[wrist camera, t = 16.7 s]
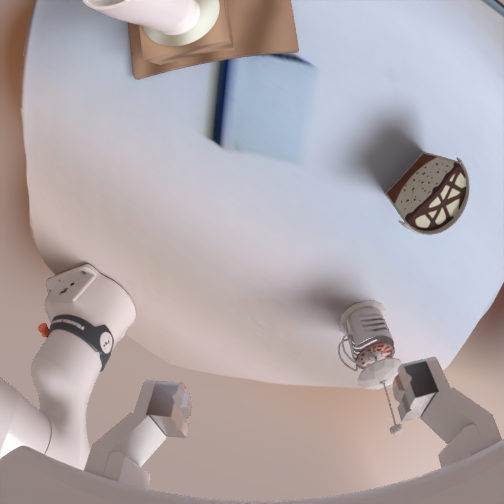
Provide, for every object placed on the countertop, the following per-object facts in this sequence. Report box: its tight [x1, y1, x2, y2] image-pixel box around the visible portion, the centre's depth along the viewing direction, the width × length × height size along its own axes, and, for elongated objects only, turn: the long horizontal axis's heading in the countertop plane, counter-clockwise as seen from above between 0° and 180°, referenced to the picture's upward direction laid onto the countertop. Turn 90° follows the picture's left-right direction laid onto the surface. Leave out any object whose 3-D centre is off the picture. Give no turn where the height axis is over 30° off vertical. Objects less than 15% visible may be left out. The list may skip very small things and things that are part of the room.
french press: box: [338, 301, 403, 435], centre depth 42 cm, size 10×12×25 cm
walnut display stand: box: [128, 0, 299, 80], centre depth 25 cm, size 22×16×8 cm
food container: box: [385, 152, 470, 235], centre depth 35 cm, size 12×6×10 cm, turn 142°
